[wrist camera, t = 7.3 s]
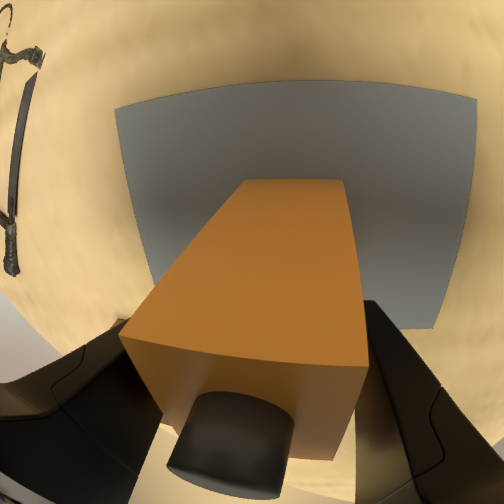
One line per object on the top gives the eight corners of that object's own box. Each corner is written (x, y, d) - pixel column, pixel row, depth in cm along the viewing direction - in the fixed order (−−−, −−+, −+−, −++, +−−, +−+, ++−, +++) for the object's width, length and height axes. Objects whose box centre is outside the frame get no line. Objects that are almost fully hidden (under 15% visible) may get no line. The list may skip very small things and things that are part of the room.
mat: (471, 99, 8) (476, 99, 8) (430, 322, 14) (432, 328, 14) (120, 108, 12) (114, 109, 11) (167, 306, 18) (163, 311, 17)
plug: (342, 179, 11) (369, 466, 2) (338, 264, 13) (325, 513, 4) (245, 179, 12) (71, 399, 3) (253, 261, 14) (159, 481, 5)
